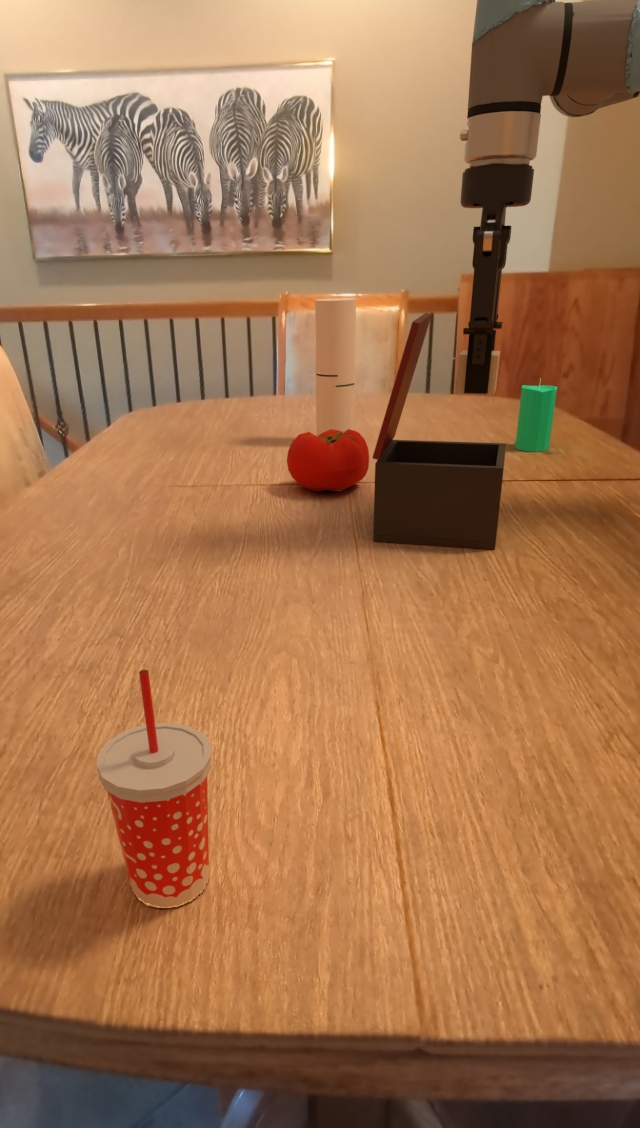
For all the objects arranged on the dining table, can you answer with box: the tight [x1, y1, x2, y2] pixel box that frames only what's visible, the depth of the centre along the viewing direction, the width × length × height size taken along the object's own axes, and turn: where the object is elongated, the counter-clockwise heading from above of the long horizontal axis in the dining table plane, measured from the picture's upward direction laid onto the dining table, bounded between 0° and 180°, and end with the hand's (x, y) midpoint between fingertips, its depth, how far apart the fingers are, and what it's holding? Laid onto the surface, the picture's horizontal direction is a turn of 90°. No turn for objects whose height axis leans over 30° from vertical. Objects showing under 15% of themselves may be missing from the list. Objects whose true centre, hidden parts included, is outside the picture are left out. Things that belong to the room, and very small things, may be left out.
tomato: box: [286, 429, 370, 493], centre depth 114 cm, size 13×12×8 cm
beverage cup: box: [95, 669, 212, 907], centre depth 41 cm, size 6×6×14 cm
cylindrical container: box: [314, 297, 357, 436], centre depth 139 cm, size 7×7×25 cm
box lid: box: [372, 312, 433, 461], centre depth 91 cm, size 16×13×1 cm
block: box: [455, 349, 501, 396], centre depth 91 cm, size 4×4×4 cm
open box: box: [372, 439, 507, 551], centre depth 96 cm, size 15×13×10 cm
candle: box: [514, 377, 558, 453], centre depth 133 cm, size 6×6×12 cm
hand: (477, 388), depth 92 cm, fingers closed on block, 4 cm apart
